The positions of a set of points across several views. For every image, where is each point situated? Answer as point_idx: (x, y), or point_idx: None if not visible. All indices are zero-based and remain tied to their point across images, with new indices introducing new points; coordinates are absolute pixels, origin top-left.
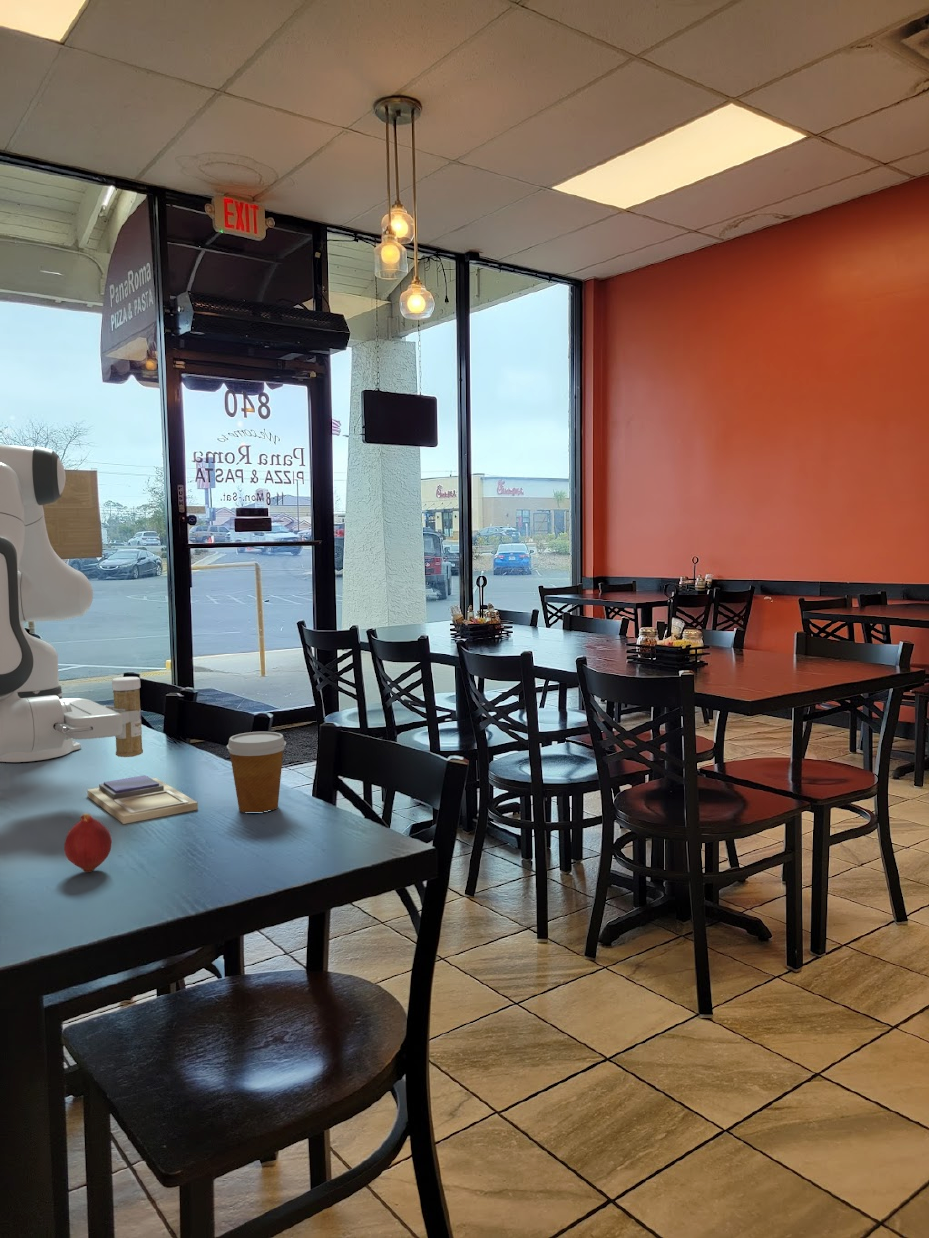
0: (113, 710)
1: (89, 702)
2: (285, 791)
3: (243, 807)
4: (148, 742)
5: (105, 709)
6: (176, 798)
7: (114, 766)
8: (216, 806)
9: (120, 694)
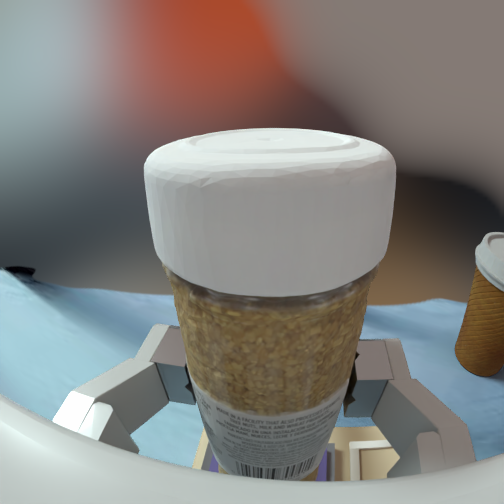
0: (145, 391)
1: (5, 442)
2: (410, 308)
3: (499, 368)
4: (3, 294)
5: (492, 500)
6: None
7: (25, 386)
8: (448, 397)
9: (348, 306)
